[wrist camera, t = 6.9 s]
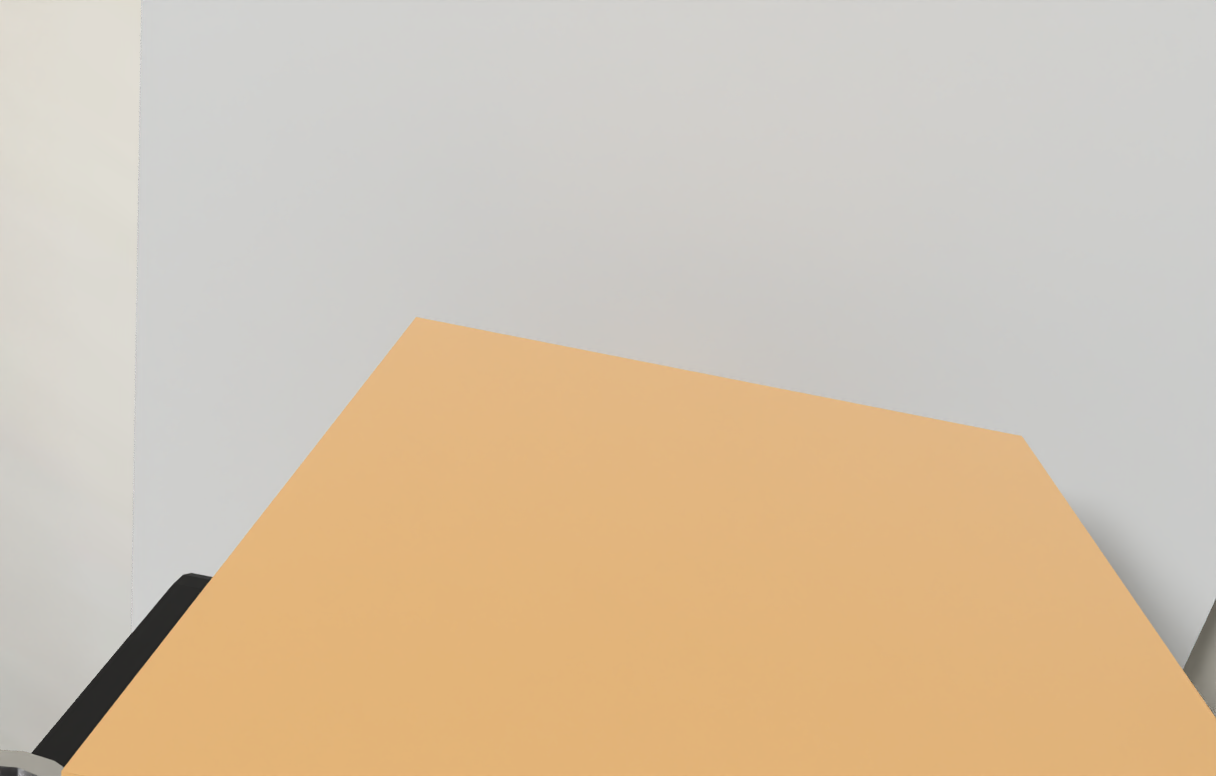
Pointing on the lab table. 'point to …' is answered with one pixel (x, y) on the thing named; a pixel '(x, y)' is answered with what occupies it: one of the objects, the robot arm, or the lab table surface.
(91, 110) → the lab table surface
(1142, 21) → the plate
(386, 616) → the orange cube with hemisphere
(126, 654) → the robot arm
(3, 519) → the lab table surface
